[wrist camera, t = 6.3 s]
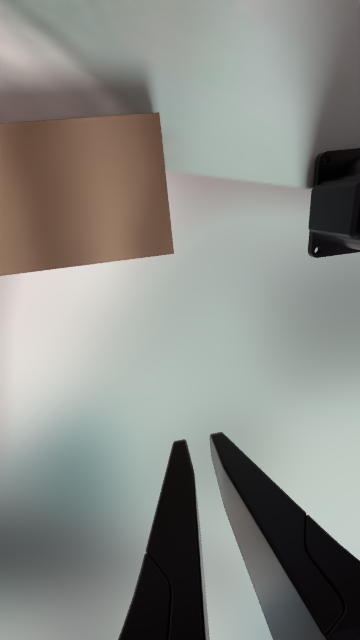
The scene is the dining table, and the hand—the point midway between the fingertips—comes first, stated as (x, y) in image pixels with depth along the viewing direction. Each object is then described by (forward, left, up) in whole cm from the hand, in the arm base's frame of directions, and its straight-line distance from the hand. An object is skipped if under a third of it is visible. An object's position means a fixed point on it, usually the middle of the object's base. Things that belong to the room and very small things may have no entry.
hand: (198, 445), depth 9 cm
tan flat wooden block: (+5, -8, -12) cm, 15 cm away
